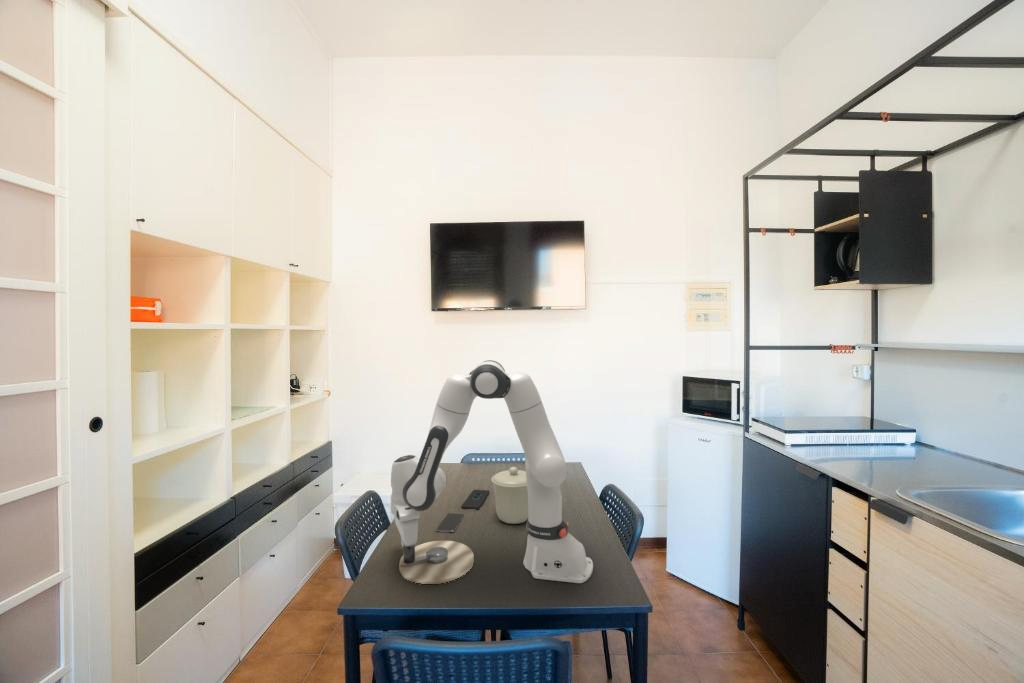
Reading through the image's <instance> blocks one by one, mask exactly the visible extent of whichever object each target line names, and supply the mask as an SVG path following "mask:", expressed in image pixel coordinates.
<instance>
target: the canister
mask: <svg viewBox="0 0 1024 683" xmlns="http://www.w3.org/2000/svg"><path fill="white" fill-rule="evenodd" d="M490 480H491V483H492V484H493V494H494V504H495V509H496V515H497V517H498V520H499V521H501V522H503V523H504V524H511V525H517V524H522V523H525V522H527V519H528V491H527V480H526V470H521V469H520V470H519V469H518V468H517V467H516V466H511V467H510V468H509V469H508V470H502V471H499V472H497V473H495V474H494V475H493V476H492V477H491V479H490Z"/></svg>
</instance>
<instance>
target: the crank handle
mask: <svg viewBox="0 0 1024 683" xmlns="http://www.w3.org/2000/svg"><path fill="white" fill-rule="evenodd" d="M415 546H416V544H415V545H411V546H404V547H403V546H402V551H403V552H402V553H403V554H402V556H403V562H404V563H405V564H406V566H409V565H414V564H418V563H423V562H429V563H433V564H437V563H442V562H444V561H446V560H447V558H448V550H447V549H446V548H444V547H434V548H431V549H429V550H428V551H427V552H426V556H421V557H417V558H415Z"/></svg>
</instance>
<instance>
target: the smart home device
mask: <svg viewBox="0 0 1024 683" xmlns="http://www.w3.org/2000/svg"><path fill="white" fill-rule="evenodd" d="M490 492H491V491H490V490H488V489H487V490H486V489H473V490H472V491H471V493H470V494H469V495H468V497H467V498H466V499H465V501H463V502H462V504H461V508H463V509H462V510H468V509H476V510H475V511H479V510H480V509H481V508H482V506H483V505H484V503H485V501H486V500H487V498H488V497H487V496H490V494H489V493H490ZM480 507H481V508H480ZM461 508H460V509H461Z"/></svg>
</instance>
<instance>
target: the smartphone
mask: <svg viewBox="0 0 1024 683" xmlns="http://www.w3.org/2000/svg"><path fill="white" fill-rule="evenodd" d="M463 516H464V517H465V514H464V513H453V512H452V513H450V512H448V513H447V514H446V515H445V516H444V518H443V519H442V520H441V522H440V524H438V526H437V528H436V529H435V532H436V531H439V532H438V533H449V532H453V533H454V532H455V531H456V529H457V528H458V526H459V525H460V523H461V522H460V521H462V520H463V518H464V517H463Z"/></svg>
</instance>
